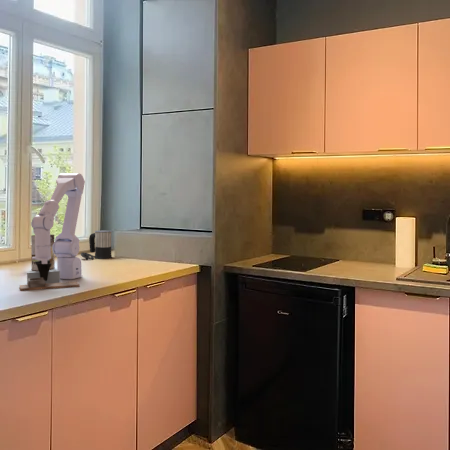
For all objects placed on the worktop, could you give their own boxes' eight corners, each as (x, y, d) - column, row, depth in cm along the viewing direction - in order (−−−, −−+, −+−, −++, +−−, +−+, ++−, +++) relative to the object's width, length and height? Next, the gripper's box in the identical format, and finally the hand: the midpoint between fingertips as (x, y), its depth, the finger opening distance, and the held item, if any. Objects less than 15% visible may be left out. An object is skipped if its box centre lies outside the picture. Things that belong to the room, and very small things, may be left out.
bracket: (76, 283, 207) (76, 275, 207) (79, 286, 200) (79, 278, 200) (19, 287, 199) (19, 278, 198) (20, 290, 192) (20, 281, 192)
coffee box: (43, 271, 239) (42, 235, 238) (31, 270, 241) (30, 235, 240) (55, 268, 248) (54, 234, 247) (43, 267, 249) (42, 233, 248)
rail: (59, 282, 211) (58, 270, 210) (59, 283, 208) (59, 271, 208) (27, 284, 206) (26, 271, 206) (27, 285, 203) (27, 272, 203)
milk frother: (114, 257, 289) (114, 230, 288) (102, 260, 274) (102, 232, 273) (90, 256, 292) (90, 229, 291) (77, 260, 277) (77, 232, 276)
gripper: (30, 244, 211) (31, 277, 212) (33, 247, 198) (33, 283, 199) (49, 243, 214) (49, 276, 215) (52, 247, 201) (53, 282, 201)
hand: (43, 279), depth 207 cm, fingers open, 5 cm apart
